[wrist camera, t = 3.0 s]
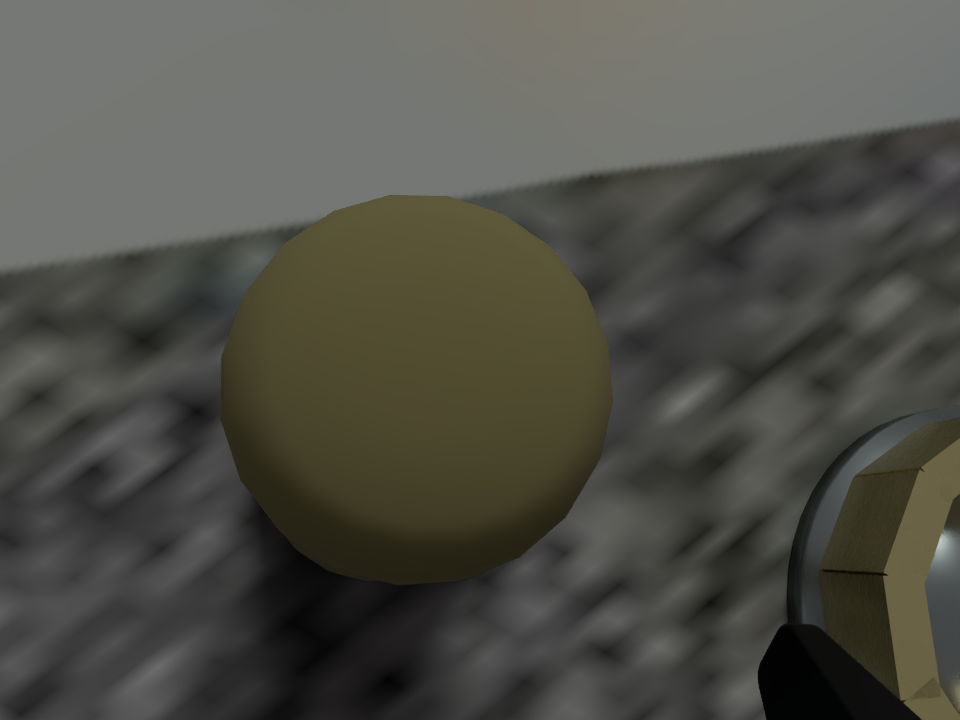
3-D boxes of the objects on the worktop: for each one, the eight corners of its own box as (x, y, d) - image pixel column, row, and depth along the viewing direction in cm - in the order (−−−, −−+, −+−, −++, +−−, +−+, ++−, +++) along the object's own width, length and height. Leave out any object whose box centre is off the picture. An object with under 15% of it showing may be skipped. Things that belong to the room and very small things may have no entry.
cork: (387, 636, 19) (452, 760, 8) (202, 462, 19) (33, 364, 8) (550, 449, 21) (775, 354, 10) (378, 290, 21) (421, 29, 10)
